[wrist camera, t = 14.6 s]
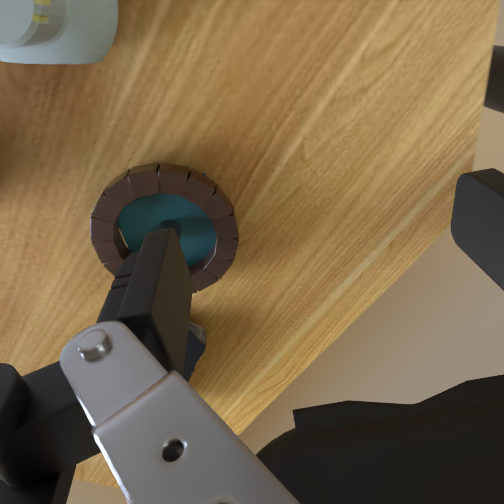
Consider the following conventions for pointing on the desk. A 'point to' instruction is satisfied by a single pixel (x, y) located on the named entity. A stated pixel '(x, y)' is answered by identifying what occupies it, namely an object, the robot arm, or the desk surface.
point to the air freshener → (57, 30)
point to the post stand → (168, 223)
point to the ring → (174, 183)
